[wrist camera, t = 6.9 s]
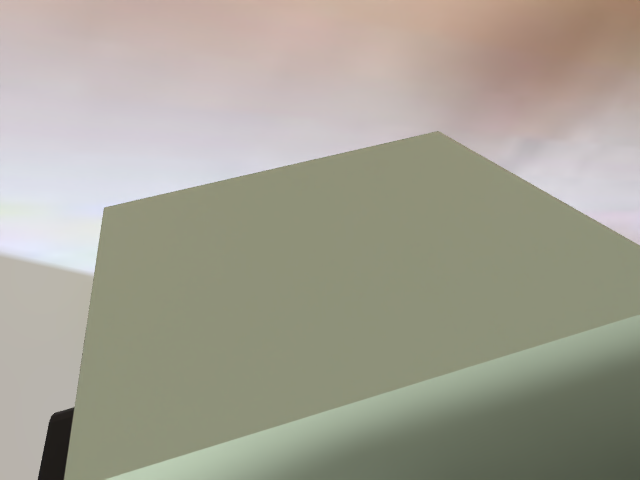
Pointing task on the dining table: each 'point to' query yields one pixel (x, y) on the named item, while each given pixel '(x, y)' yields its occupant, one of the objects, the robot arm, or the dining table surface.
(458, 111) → the dining table surface
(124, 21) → the dining table surface
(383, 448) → the green cube
